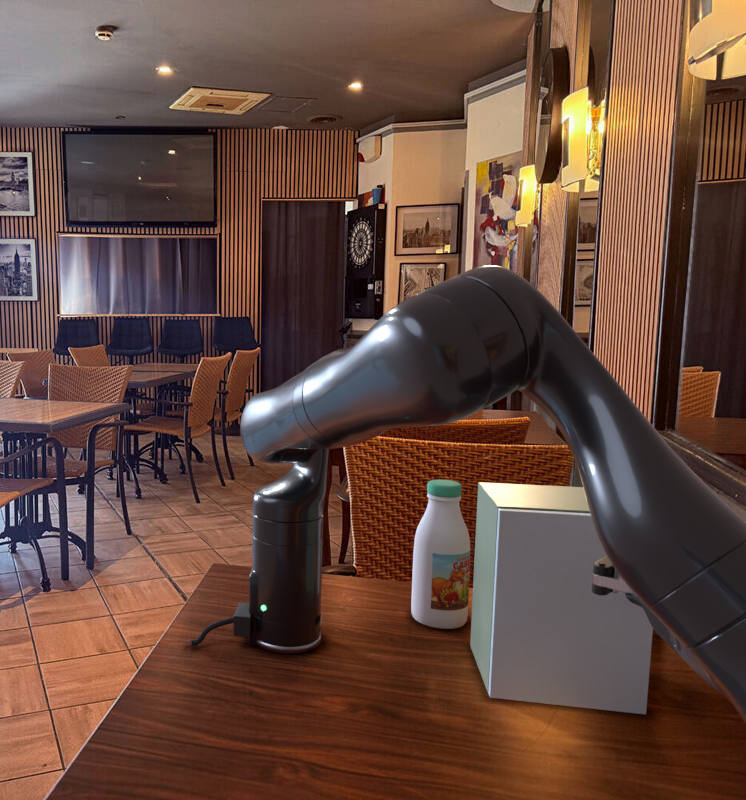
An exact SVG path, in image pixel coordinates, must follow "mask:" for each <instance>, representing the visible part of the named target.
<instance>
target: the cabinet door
mask: <svg viewBox="0 0 746 800" xmlns="http://www.w3.org/2000/svg"><path fill="white" fill-rule="evenodd" d="M606 556H607V554H606V553H605V550H604V548H603V546H602V544H601V542H600V540H599V537H598V534H597V532H596V529H595V526H594V523H593V520H592V516H591V513H573V512H555V511H537V510H520V509H502V508H498V522H497V541H496V559H495V578H494V597H493V616H492V635H491V653H490V672H489V691H488V692H487V693H488V696H489V698H490V699H498V700H506V701H516V702H525V703H535V704H544V705H552V706H553V705H554V706H563V707H572V708H580V709H589V710H599V711H607V712H608V711H610V712H617V713H626V714H636V715H647V707H648V695H649V683H650V669H651V658H652V645H653V634H654V633H653V632H654V630H653V627H652V625H651V624H650V622H649V620H648V617H647V615H646V613H645V611H644V609H643V608H642V607H640V606H638V605H636V604H634V603H632V602H630V601H629V600H628V599H627V597H626V595H625V593H624V592H620V591H618V593H612V592H611V593H609V594H608V595H597V594H594V593H592V576H593V565H594V563H595V562H597V561H599V560H600V559H602V558H604V557H606Z"/></svg>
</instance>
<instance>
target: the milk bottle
mask: <svg viewBox="0 0 746 800" xmlns="http://www.w3.org/2000/svg"><path fill="white" fill-rule="evenodd" d="M426 485H427V486H426V491H427V495H426V497H427V498H428V501H427V505H426V508H425V511H424V514H423V516H422V517H421V519H420V521H419V523H418V525H417V526H416V527H417V528H416V531H415V534H414V541H413V551H412V552H413V554H412V577H411V603H410V607H411V608H410V613H411V616H412V618H413V619H414V620H415V621H416V622H418V623H419V624H422V625H425V626H426V627H431V628H435V629H441V630H442V629H443V630H444V629H446V630H449V629H459V628H461V627H464V625H465V624H466V623H467V621H468V616H469V593H470V576H471V575H470V573H471V572H470V571H471V538H470V534H469V530H468V527H467V525H466V523H465V520H464V517H463V514H462V511H461V507H460V506H461V505H460V501H461V500H462V493H463V492H462V491H463V486H462V484H461V483H460V482H458V481H455V480H450V479H431V480H429V481H427V484H426Z"/></svg>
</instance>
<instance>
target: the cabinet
mask: <svg viewBox="0 0 746 800" xmlns="http://www.w3.org/2000/svg"><path fill="white" fill-rule="evenodd" d="M498 508H502V509H520V510H537V511H555V512H573V513H590V510H589V507H588V503H587V499H586V495H585V492H584V488H583V486H566V485H564V486H562V485H547V484H546V485H545V484H543V485H541V484H522V483H505V482H503V483H502V482H501V483H500V482H483V481H482V482H477V501H476V519H475V537H474V538H475V542H474V561H473V579H472V581H473V582H472V602H471V620H470V621H471V623H470V641H469V646H470V649H471V652H472V654H473V657H474V659H475V660H474V661H475V662H476V665H477V668H478V670H479V674H480V676H481V679H482V681H483V684H484V687H485V689H486V692H487V693H488V691H489V672H490V653H491V635H492V616H493V597H494V578H495V559H496V541H497V522H498Z"/></svg>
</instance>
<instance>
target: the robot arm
mask: <svg viewBox="0 0 746 800" xmlns="http://www.w3.org/2000/svg"><path fill="white" fill-rule="evenodd" d="M516 391H519V392H520V393H522V394H523V396H525V397H527V398H528V399H529V400H530V401H532V402H533V403H534V404H535V405H536V406H537V407H538V408H539V409H541V410H542V412H543V413H544V414H546V415H547V417H549V419H550V420H551V421H552V422H553V424H555V426H556V427H557V429H558V431H559V432H560V433H561V435H562V437H563V438H564V441H566V445H567V446H568V448H569V451H570V453H571V455H572V458H573V459H574V460H573V461H574V462H575V465H576V468H577V471H578V474H579V477H580V481H581V484H582V487H583V488H584V492H585V495H586V499H587V503H588V507H589V510H590V513H591V516H592V520H593V523H594V526H595V529H596V532H597V534H598V537H599V540H600V542H601V544H602V546H603V548H604V550H605V553H606V554H607V556H606V557H604V558H602V559H600V560H599V561H597V562H595V563H594V565H593V576H592V593H594V594H597V595H608V594H609V593H611V592H612V593H618V591H620V592H624V593H625V595H626V597H627V599H628V600H629V601H630V602H632V603H634V604H636V605H638V606H640V607H642V608H643V609H644V611H645V613H646V615H647V617H648V620H649V622H650V624H651V625H652V627H653V629H654V630H653V631H655V633H656V634H657V635H658V636H659V637H660V638H661V639H662V640H663V641H664V642H665V643H666V644H667V645H668V646H669V647H670V648H671V649H672V650H673V652H675V654H677V655H678V657H680V658H681V659H682V661H683V662H685V664H686V665H688V666H689V668H690V669H691V670H692V671H693V672H694V673H695V674H696V675H697V676H698V677H700V678H701V679H702V680H703V681H704V682H705V683H706V684H708V685H709V686H710V687H712V688H713V689H714V690H715V691H717V692H719V693H720V694H722V696H724V697H725V698H726V699H727V701H729V702H730V704H732V706H733V707H734V709H735V710H736V712H737V713H738V715H739V717H740V718H741V719H742V721H743V722H744V724H745V725H746V520H745V519H743V517H741V515H740V514H738V513H737V512H736V511H735V510H734V509H733V508H731V506H729V505H728V504H727V503H726V502H725V501H724V500H723V499H722V498H721V497H720V496H719V495H718V494H717V493H716V492H715V491H714V490H712V489H711V487H710V486H708V485H707V484H706V483H705V481H703V480H702V478H700V476H698V475H697V474H696V473H695V472H694V470H693V469H692V468H691V467H690V466H688V464H687V463H686V462H685V461H684V460H683V459H682V458H681V457H680V456H679V455H678V454H677V452H676V451H675V450H674V449H673V448H672V447H671V446H670V445H669V444H668V442H667V441H666V440H665V439H664V437H662V435H661V434H660V433H659V431H658V430H657V429H656V428H655V427H654V426H653V424H652V423H651V422H650V421H649V420H648V418H647V417H646V416H645V414H644V413H643V412H642V411H641V410H640V408H639V407H638V406H637V405H636V404H635V402H634V401H633V399H631V397H630V396H629V395H628V393H627V392H626V390H624V387H622V386H621V384H619V382H618V381H617V379H615V377H614V376H613V375H612V374H611V372H610V371H609V370H608V369H607V367H606V366H605V365H603V363H602V362H601V361H600V359H598V357H597V356H596V355H595V353H593V351H592V350H591V348H590V347H589V346H588V345H587V344H586V343H585V341H584V340H583V339H582V338H581V336H580V335H578V333H577V332H576V331H575V330H574V328H573V327H572V325H570V323H569V322H568V321H567V320H566V318H565V317H564V316H563V315H562V314H561V313H560V311H558V309H557V308H556V307H555V306H554V305H553V303H551V302H550V300H548V298H547V297H546V296H545V295H544V294H543V293H542V292H541V291H540V290H538V289H537V287H536V286H535V285H533V284H532V283H530V281H528V280H527V279H526V278H525V277H523V276H521V275H520V274H519V273H517V272H515V271H513V270H512V269H509V268H507V267H504V266H502V265H501V266H500V265H491V264H488V265H482V266H477V267H474V268H470V269H469V270H466V271H464V272H461V273H459V274H456V275H455V276H453V277H450V278H447V279H446V280H444V281H442V282H440V283H437V284H435V285H433V286H431V287H428V288H427V289H425V290H423V291H421V292H418V293H417V294H415V295H412V296H410V297H408V298H406V299H404V300H403V301H401V302H399V303H398V304H396V305H394V306H393V307H392V308H391V309H389V310H388V311H387V312H386V313H384V314H383V315H382V316H381V317H380V318H379V319H378V320H377V321H376V322H375V323H374V324H373V325H372V326H371V327H370V328H369V329H368V330H367V331H366V332H365V333H364V334H363V335H362V336H361V337H360V338H359V340H357V341H356V342H355V343H354V345H352V346H350V347H342V348H339V349H336V350H333V351H331V352H330V353H327V354H326V355H324V356H322V357H321V358H319V359H317V360H316V361H315V362H313V363H312V364H310V365H309V366H307V367H306V368H305V369H304V370H302V371H301V372H299V373H298V374H295V376H293V377H291V378H289V379H288V380H286V381H285V382H283V383H282V384H281V385H278V386H277V387H274V388H272V389H269V390H265V391H262V392H258V393H256V394H254V395H252V396H251V397H250V398H249V400H248V401H247V402H246V405H245V406H244V407H243V408H244V409H243V411H242V414H241V418H240V424H239V430H240V431H239V432H240V433H239V434H240V440H241V444H242V446H243V448H244V450H245V451H246V453H247V454H248V456H249V457H250V458H251V459H253V460H254V461H256V462H257V463H260V464H271V465H272V464H292V467H291V469H289V471H288V472H287V473H285V474H284V475H283V476H281V477H280V478H278V479H277V480H275V481H272V482H270V483H267V484H265V485H263V486H261V487H259V488H257V490H256V491H254V494H253V496H252V543H251V544H252V545H251V546H252V547H251V548H252V549H251V552H252V553H251V570H250V573H249V576H248V577H249V578H248V602H238V604H237V607H236V609H235V612H234V614H233V616H231V617H227V618H224V619H220V620H217V621H215V622H213V623H211V624H209V625H207V626H206V627H204V629H203V630H202V631H201V632H200V634H199V635H198V637H197V638H195V639H190V646H191V647H196V646H198V645H201V643H202V642H203V641H204V639H205V638H206V636H207V635H208V634H209V633H211V631H213V630H215V629H217V628H220V627H223V626H226V625H230V624H233V628H232V629H233V636H234V637H243V638H248V640H247V641H248V645H249V646H256V647H258V648H261V649H262V650H265V651H267V652H271V653H276V654H282V655H283V654H284V655H296V654H304V653H307V652H310V651H312V650H313V651H314V650H315V649H316V648H318V647H319V646H320V645H321V642H322V631H321V630H322V620H323V613H324V612H323V611H324V609H323V608H322V589H323V588H322V585H323V584H322V583H323V582H322V581H323V579H322V578H323V542H324V541H323V540H324V539H323V538H324V507H325V506H324V505H325V500H326V494H327V483H328V481H327V480H328V466H329V464H328V463H329V452H330V450H334V449H342V448H347V447H350V446H355V445H358V444H362V443H365V442H367V441H371V440H372V439H375V438H377V437H380V436H381V435H383V434H385V432H387V431H388V430H391V429H404V428H422V427H434V426H442V425H448V424H452V423H456V422H458V421H461V420H463V419H467V418H468V417H470V416H472V415H474V414H476V413H478V412H481V411H482V410H484V409H485V408H488V407H490V406H491V405H493V404H495V403H497V402H499V401H501V400H502V399H504V398H506V397H509V396H510V395H512V394H513V393H516Z"/></svg>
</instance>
